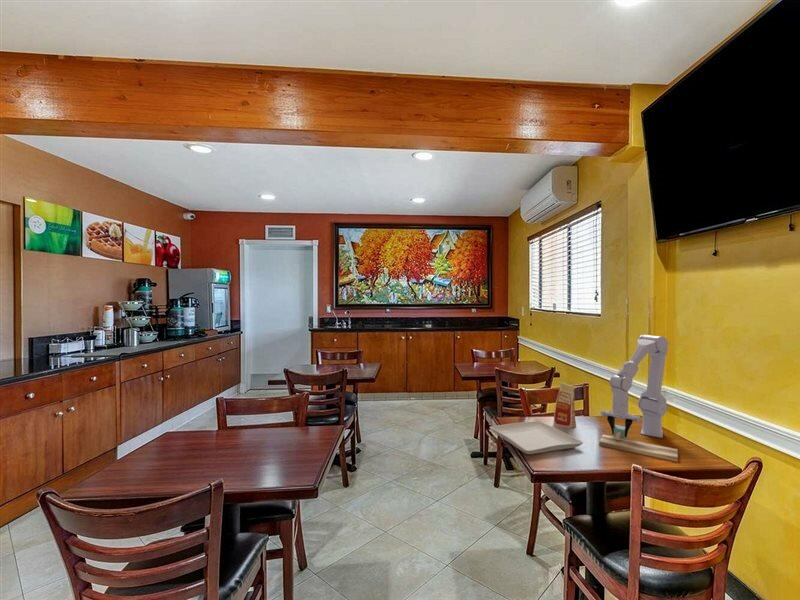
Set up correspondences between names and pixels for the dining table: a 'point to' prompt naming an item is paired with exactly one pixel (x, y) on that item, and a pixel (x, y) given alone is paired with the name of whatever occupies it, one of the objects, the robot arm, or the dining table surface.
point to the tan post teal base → (619, 432)
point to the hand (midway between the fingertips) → (619, 435)
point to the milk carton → (565, 407)
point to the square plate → (535, 437)
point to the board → (640, 447)
